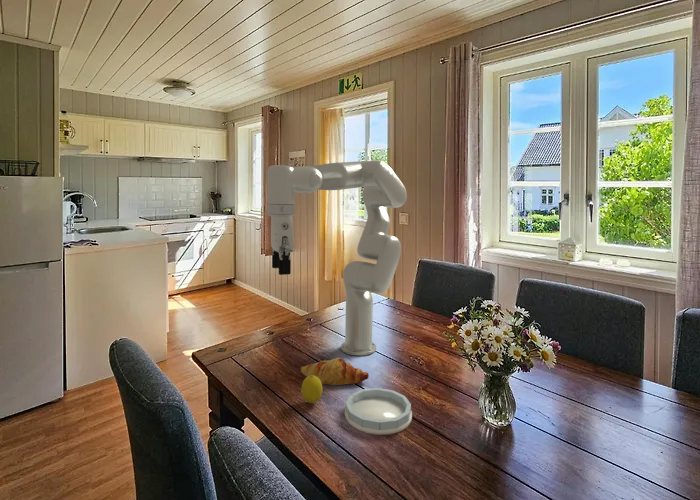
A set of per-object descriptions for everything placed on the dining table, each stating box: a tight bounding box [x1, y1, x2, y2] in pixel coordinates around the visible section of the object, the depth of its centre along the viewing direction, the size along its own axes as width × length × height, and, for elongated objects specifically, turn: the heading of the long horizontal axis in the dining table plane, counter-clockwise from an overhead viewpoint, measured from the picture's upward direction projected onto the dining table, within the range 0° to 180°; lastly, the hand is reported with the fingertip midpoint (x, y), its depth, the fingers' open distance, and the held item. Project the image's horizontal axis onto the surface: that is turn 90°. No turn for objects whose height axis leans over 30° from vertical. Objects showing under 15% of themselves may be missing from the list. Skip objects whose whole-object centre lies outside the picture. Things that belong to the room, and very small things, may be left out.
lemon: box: [301, 375, 323, 404], centre depth 108 cm, size 6×6×8 cm
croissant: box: [300, 357, 369, 386], centre depth 122 cm, size 21×10×8 cm
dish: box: [344, 387, 413, 436], centre depth 103 cm, size 17×17×3 cm
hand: (280, 271), depth 116 cm, fingers open, 9 cm apart
